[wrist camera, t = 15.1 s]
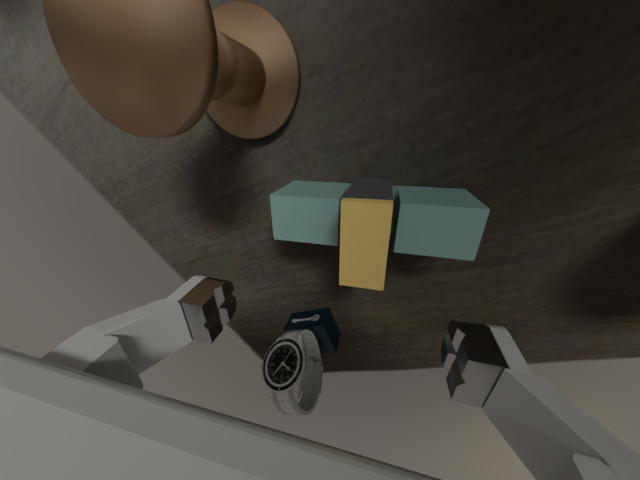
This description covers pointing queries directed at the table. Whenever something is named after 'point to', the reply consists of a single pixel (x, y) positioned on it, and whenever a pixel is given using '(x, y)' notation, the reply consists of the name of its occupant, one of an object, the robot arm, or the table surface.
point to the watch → (300, 360)
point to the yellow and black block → (365, 232)
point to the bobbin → (178, 64)
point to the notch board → (407, 221)
